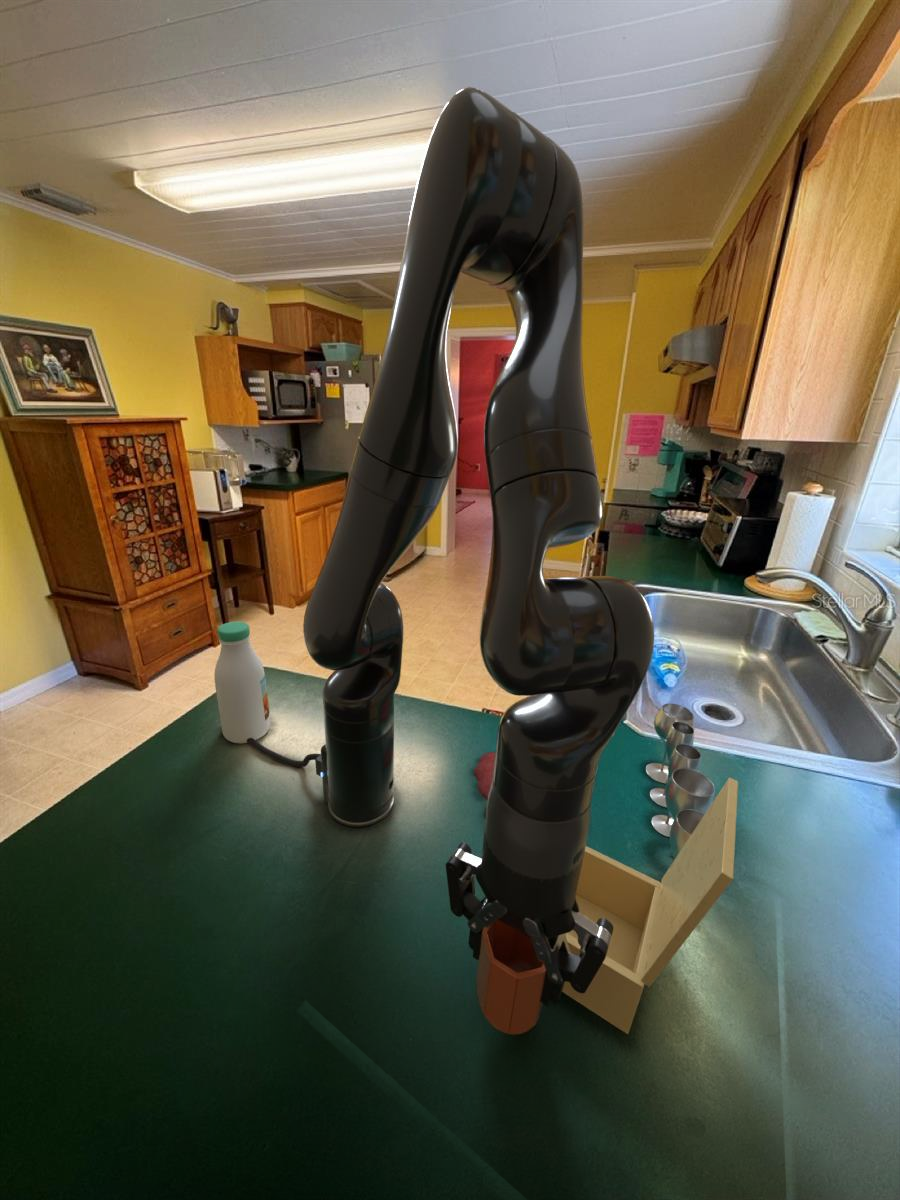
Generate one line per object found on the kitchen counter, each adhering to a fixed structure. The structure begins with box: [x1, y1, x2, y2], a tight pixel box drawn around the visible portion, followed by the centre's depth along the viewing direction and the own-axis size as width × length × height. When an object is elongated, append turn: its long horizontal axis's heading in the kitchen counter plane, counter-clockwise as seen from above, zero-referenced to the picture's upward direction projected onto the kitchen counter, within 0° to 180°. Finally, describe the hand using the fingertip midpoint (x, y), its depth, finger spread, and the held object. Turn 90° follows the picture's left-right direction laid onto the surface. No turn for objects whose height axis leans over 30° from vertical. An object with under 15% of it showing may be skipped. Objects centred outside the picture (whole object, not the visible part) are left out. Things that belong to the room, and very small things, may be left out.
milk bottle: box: [214, 621, 271, 744], centre depth 78 cm, size 8×8×20 cm
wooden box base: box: [562, 845, 661, 1035], centre depth 50 cm, size 15×12×8 cm
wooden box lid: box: [641, 777, 739, 988], centre depth 42 cm, size 16×12×1 cm
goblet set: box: [645, 703, 716, 858], centre depth 65 cm, size 28×6×13 cm, turn 161°
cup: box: [475, 919, 547, 1036], centre depth 42 cm, size 6×6×8 cm
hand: (513, 970), depth 42 cm, fingers closed on cup, 6 cm apart
